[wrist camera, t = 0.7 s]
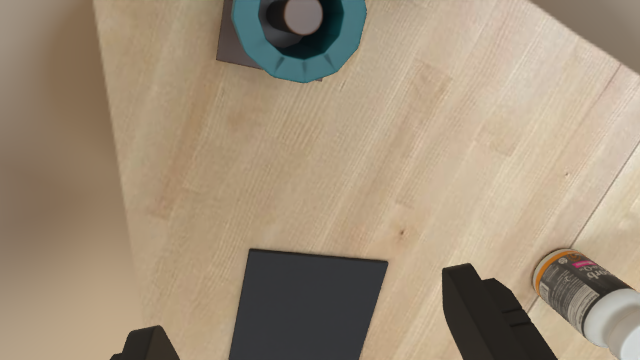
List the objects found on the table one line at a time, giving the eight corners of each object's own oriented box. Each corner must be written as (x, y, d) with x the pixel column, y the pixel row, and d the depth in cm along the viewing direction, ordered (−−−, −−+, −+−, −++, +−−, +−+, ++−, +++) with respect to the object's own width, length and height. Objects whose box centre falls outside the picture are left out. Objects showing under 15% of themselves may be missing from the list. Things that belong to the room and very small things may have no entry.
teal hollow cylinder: (225, 53, 26) (225, 67, 19) (240, -51, 25) (246, -80, 17) (316, 72, 28) (348, 92, 21) (336, -24, 26) (380, -40, 19)
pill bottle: (590, 250, 41) (694, 316, 32) (565, 299, 43) (655, 375, 34) (545, 242, 40) (640, 309, 31) (520, 293, 41) (603, 370, 32)
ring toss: (216, 57, 28) (212, 78, 19) (232, -59, 26) (236, -100, 17) (317, 78, 30) (358, 106, 21) (340, -28, 28) (397, -51, 18)
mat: (213, 441, 40) (213, 445, 40) (249, 248, 33) (249, 251, 33) (332, 437, 43) (333, 441, 43) (387, 261, 37) (388, 263, 36)
